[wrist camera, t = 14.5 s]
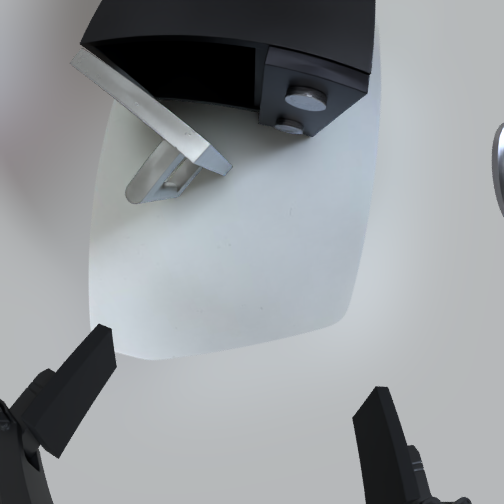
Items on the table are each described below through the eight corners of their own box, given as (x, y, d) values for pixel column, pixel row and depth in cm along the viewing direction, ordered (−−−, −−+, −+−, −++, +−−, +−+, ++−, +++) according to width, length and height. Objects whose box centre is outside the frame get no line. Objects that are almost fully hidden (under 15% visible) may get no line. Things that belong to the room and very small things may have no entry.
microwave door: (194, 210, 34) (138, 233, 16) (118, 143, 32) (30, 121, 14) (232, 166, 32) (211, 143, 15) (152, 101, 30) (82, 47, 13)
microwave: (311, 143, 32) (367, 103, 14) (146, 115, 31) (68, 69, 13) (334, 16, 27) (373, -57, 9) (191, -6, 26) (164, -80, 8)
